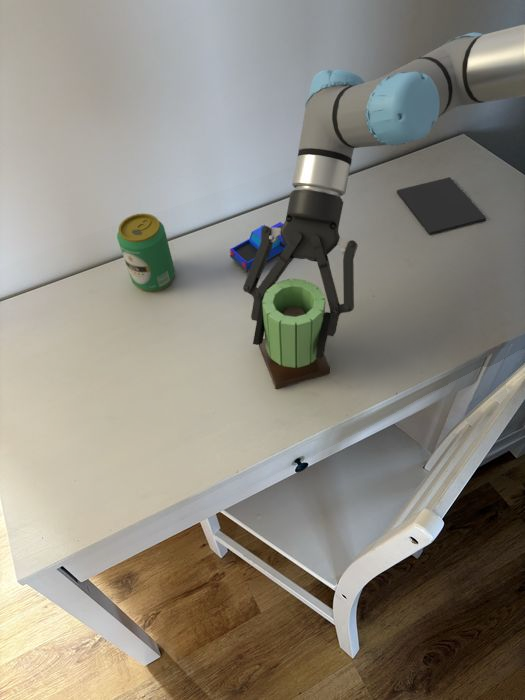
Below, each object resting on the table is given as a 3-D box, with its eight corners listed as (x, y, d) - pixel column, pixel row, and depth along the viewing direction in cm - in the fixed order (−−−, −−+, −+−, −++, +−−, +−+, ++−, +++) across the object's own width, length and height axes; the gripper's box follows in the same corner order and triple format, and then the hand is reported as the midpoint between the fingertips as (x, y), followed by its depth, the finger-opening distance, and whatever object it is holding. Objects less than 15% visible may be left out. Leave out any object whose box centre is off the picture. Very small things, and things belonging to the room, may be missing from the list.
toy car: (300, 249, 101) (300, 228, 97) (249, 278, 97) (247, 258, 93) (278, 231, 104) (277, 210, 101) (228, 258, 100) (225, 238, 97)
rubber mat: (485, 220, 103) (486, 217, 103) (429, 235, 102) (429, 232, 101) (449, 179, 112) (449, 176, 111) (396, 192, 110) (396, 189, 109)
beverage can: (123, 285, 98) (105, 234, 88) (149, 257, 102) (133, 206, 92) (159, 299, 95) (144, 248, 86) (184, 270, 99) (172, 218, 90)
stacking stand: (330, 373, 84) (334, 329, 75) (275, 389, 82) (273, 346, 74) (310, 331, 89) (311, 285, 80) (258, 345, 88) (254, 300, 79)
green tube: (330, 358, 81) (334, 314, 73) (276, 374, 79) (274, 331, 71) (310, 317, 86) (311, 272, 78) (259, 331, 84) (255, 287, 76)
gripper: (395, 208, 76) (362, 362, 80) (252, 187, 81) (227, 333, 84) (394, 200, 69) (358, 370, 72) (237, 177, 74) (211, 337, 77)
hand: (288, 350), depth 78 cm, fingers closed on green tube, 9 cm apart
